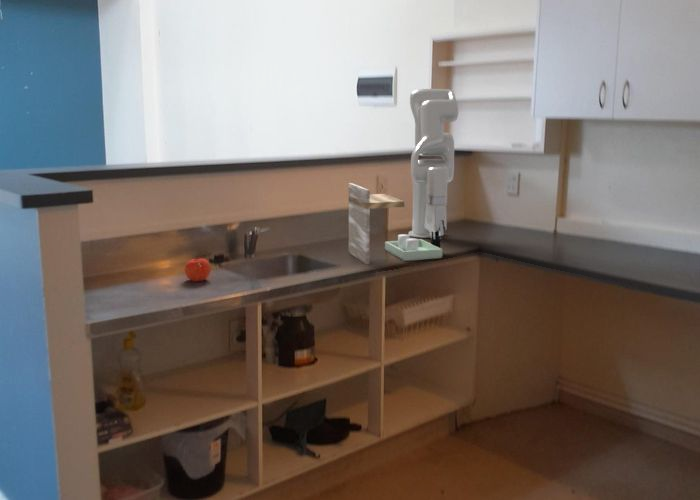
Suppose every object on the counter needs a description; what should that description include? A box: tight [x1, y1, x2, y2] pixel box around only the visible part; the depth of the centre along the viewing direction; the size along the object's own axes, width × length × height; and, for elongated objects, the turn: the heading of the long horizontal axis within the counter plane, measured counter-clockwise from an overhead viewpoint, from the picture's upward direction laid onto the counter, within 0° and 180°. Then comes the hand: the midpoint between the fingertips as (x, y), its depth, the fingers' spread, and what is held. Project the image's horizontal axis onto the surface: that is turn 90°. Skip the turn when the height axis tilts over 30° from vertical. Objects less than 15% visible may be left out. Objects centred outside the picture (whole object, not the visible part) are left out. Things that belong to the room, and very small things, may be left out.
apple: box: [184, 255, 212, 282], centre depth 226 cm, size 8×8×8 cm
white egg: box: [406, 237, 418, 251], centre depth 258 cm, size 4×4×6 cm
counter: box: [348, 182, 405, 265], centre depth 256 cm, size 14×20×26 cm
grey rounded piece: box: [397, 233, 411, 251], centre depth 266 cm, size 4×4×6 cm
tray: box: [384, 238, 443, 262], centre depth 263 cm, size 15×19×3 cm
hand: (435, 249), depth 266 cm, fingers closed
